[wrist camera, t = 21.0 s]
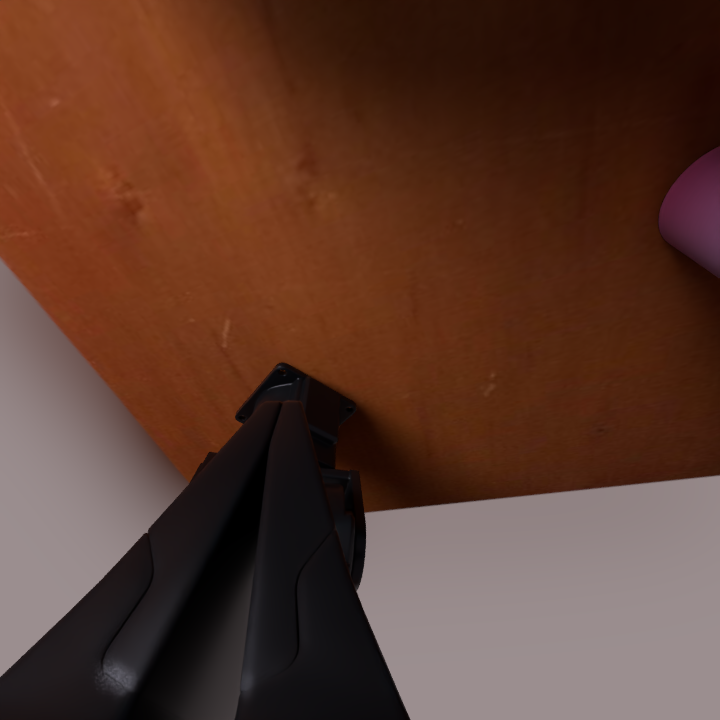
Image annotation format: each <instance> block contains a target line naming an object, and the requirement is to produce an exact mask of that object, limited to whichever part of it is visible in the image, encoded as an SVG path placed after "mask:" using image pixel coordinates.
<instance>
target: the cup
mask: <svg viewBox="0 0 720 720" xmlns="http://www.w3.org/2000/svg"><path fill="white" fill-rule="evenodd" d="M659 230H660V233H661V235H662V237H663V238H664V240H665V241H667V242H668V243H669V244H670V245H672V246H673V247H675V248H676V249H677V250H679V251H680V252H682V253H683V254H685V255H686V256H688V257H689V258H691V259H692V260H693V261H695V262H696V263H698V264H699V265H701V266H702V267H704V268H705V269H706V270H708V271H709V272H711V273H712V274H714V275H715V276H717V277H718V278H720V146H719V147H717V148H715V149H713V150H711V151H710V152H708V153H706V154H705V155H703V156H702V157H700V158H699V159H698V160H697V161H695V162H694V163H693V164H691V165H690V166H689V167H688V168H687V169H686V170H685V171H684V172H683V173H682V174H681V175H680V176H679V178H678V179H677V180H676V181H675V183H674V184H673V185H672V186H671V188H670V190H669V191H668V193H667V195H666V196H665V199H664V201H663V203H662V206H661V209H660V213H659Z"/></svg>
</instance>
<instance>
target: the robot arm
mask: <svg viewBox="0 0 720 720" xmlns="http://www.w3.org/2000/svg"><path fill="white" fill-rule="evenodd" d="M281 370H285V372H283V371H281ZM347 407H351V408H347ZM355 412H356V403H355V402H353V401H352V400H350V399H348V398H346V397H345V396H343V395H341V394H339V393H338V392H336V391H334V390H332V389H331V388H329V387H327V386H325V385H324V384H322V383H320V382H318V381H317V380H315V379H313V378H311V377H309V376H308V375H306V374H304V373H302V372H301V371H299V370H297V369H295V368H294V367H292V366H290V365H288V364H286V363H279V364H278V365H276V367H275V368H274V369H273V370H272V371H271V372H270V374H269V375H268V376H267V377H266V378H265V379H264V381H263V382H262V383H261V384H260V385H259V386H258V388H257V389H256V390H255V391H254V392H253V393H252V395H251V396H250V397H249V398H248V399H247V400H246V401H245V403H244V404H243V405H242V406H241V407H240V408H239V410H238V411H237V413H236V416H235V418H236V420H237V421H239V422H241V423H243V425H242V426H241V427H240V429H239V430H238V431H237V432H236V433H235V434H234V435H233V436H232V437H231V439H230V440H229V441H228V442H227V443H226V444H225V445H224V446H223V447H222V448H221V450H220V451H219V452H218V453H214V452H209V453H208V455H207V457H206V458H205V460H204V462H203V463H201V464H200V466H199V467H198V469H197V471H196V473H195V475H194V476H193V478H192V480H191V482H190V484H189V485H188V486H187V487H186V488H185V489H184V490H183V492H182V493H181V494H180V495H179V496H178V497H177V498H176V499H175V500H174V502H173V503H172V504H171V505H170V506H169V507H168V508H167V509H166V510H165V511H164V513H163V514H162V515H161V516H160V517H159V518H158V519H157V520H156V521H155V523H154V524H153V525H152V526H151V527H150V528H149V530H148V533H145V534H143V536H142V537H141V538H140V539H139V540H138V541H137V542H136V543H135V544H134V546H133V547H132V548H131V549H130V550H129V551H128V552H127V553H126V554H125V555H124V556H123V557H122V558H121V559H120V561H119V562H118V563H117V564H116V565H115V566H114V567H113V568H112V569H111V570H110V571H109V572H108V573H107V575H105V576H104V578H103V579H102V580H101V581H100V582H99V583H98V584H97V585H96V586H95V587H94V588H93V589H92V590H91V591H89V592H88V594H86V596H84V597H83V598H82V599H81V600H80V601H79V602H78V603H77V604H76V605H75V606H74V607H73V608H72V609H71V610H70V611H69V612H68V613H67V614H66V615H65V616H64V617H63V618H62V619H61V620H60V621H59V622H58V623H57V624H56V625H55V626H54V627H53V628H52V629H50V630H49V631H48V632H47V633H46V634H45V635H44V636H43V637H42V638H41V639H40V640H39V641H38V642H37V643H36V644H35V645H34V646H33V647H31V648H30V649H29V650H28V651H27V652H26V653H25V654H24V655H23V656H22V657H21V658H20V659H19V660H18V661H17V662H16V663H15V664H14V665H13V666H12V667H11V668H9V669H8V670H7V671H6V672H5V673H4V674H3V675H2V676H1V677H0V720H410V718H409V716H408V713H407V711H406V709H405V706H404V704H403V702H402V700H401V697H400V695H399V693H398V690H397V688H396V685H395V683H394V681H393V678H392V676H391V674H390V671H389V669H388V667H387V664H386V662H385V659H384V657H383V655H382V652H381V650H380V648H379V645H378V643H377V641H376V638H375V636H374V633H373V631H372V629H371V627H370V624H369V622H368V619H367V617H366V615H365V612H364V610H363V608H362V605H361V602H360V600H359V597H358V594H357V592H356V591H357V589H358V587H359V585H360V582H361V578H362V573H363V568H364V560H365V559H364V558H365V549H366V523H365V514H364V506H363V499H362V491H361V483H360V475H359V471H357V470H349V471H345V470H337V469H335V461H336V443H337V442H338V436H339V426H340V425H341V424H342V423H343V422H345V421H346V420H347V419H348V418H349V417H350V416H351V415H353V414H354V413H355Z"/></svg>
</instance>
